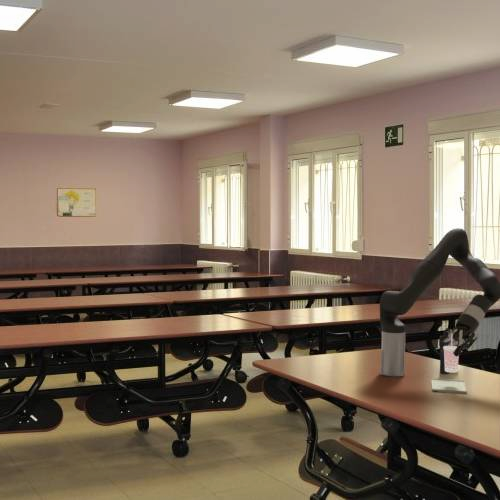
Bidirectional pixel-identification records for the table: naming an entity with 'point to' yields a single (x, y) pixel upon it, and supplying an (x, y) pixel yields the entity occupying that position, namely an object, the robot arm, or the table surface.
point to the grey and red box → (442, 364)
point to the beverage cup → (450, 358)
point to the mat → (448, 386)
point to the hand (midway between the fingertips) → (448, 353)
